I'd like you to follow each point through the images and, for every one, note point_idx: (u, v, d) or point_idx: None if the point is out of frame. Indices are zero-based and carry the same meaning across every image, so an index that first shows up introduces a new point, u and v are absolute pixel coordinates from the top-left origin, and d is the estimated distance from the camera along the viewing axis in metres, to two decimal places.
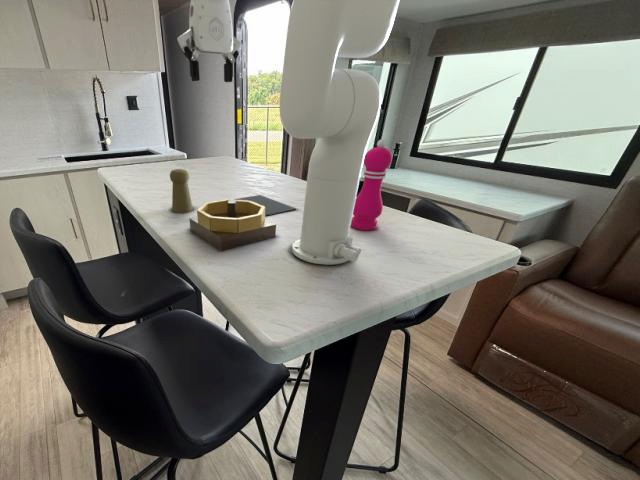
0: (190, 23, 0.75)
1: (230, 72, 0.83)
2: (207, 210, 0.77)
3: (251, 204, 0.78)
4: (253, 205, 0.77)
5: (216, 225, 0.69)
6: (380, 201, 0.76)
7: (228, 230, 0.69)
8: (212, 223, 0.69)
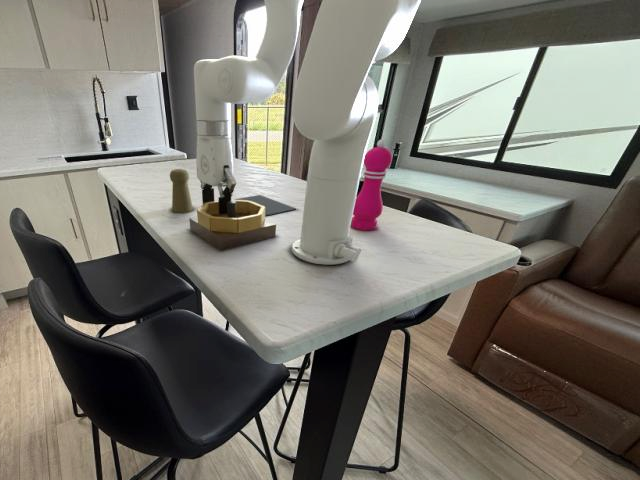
0: None
1: (219, 205, 0.75)
2: (207, 210, 0.77)
3: (251, 204, 0.78)
4: (253, 205, 0.77)
5: (216, 225, 0.69)
6: (380, 201, 0.76)
7: (228, 230, 0.69)
8: (212, 223, 0.69)
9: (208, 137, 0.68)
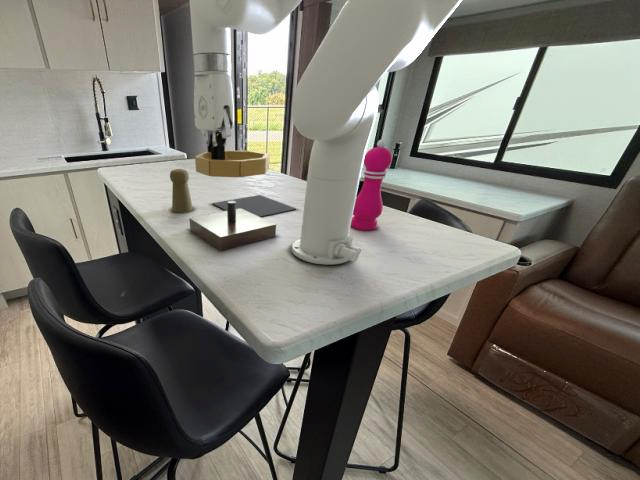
0: None
1: (212, 156, 0.72)
2: None
3: (254, 153, 0.72)
4: (256, 154, 0.71)
5: (216, 169, 0.63)
6: (380, 201, 0.76)
7: (229, 174, 0.63)
8: (212, 167, 0.63)
9: (206, 73, 0.62)
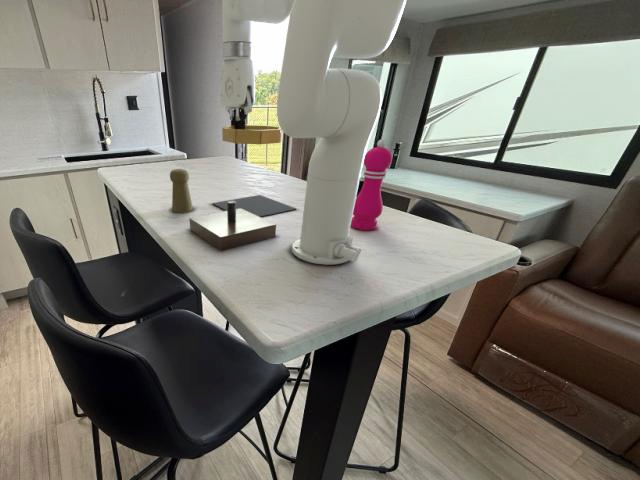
0: None
1: None
2: None
3: (270, 127, 0.86)
4: (272, 128, 0.86)
5: (241, 137, 0.77)
6: (380, 201, 0.76)
7: (251, 142, 0.77)
8: (237, 135, 0.77)
9: (234, 58, 0.76)
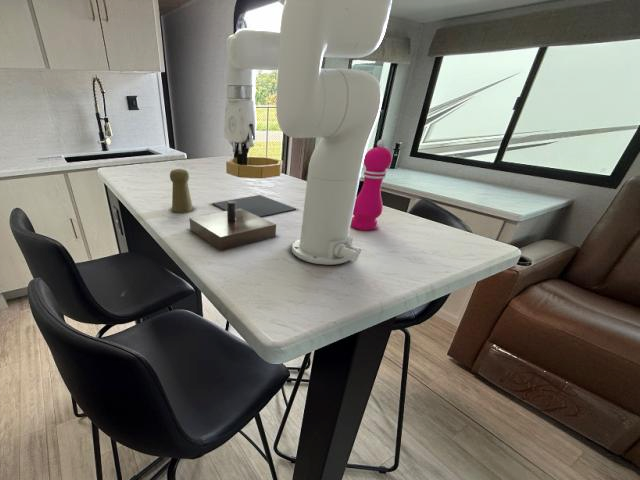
0: None
1: (237, 161, 0.93)
2: None
3: (270, 159, 0.93)
4: (272, 160, 0.92)
5: (243, 172, 0.84)
6: (380, 201, 0.76)
7: (253, 176, 0.84)
8: (240, 170, 0.84)
9: (237, 99, 0.83)
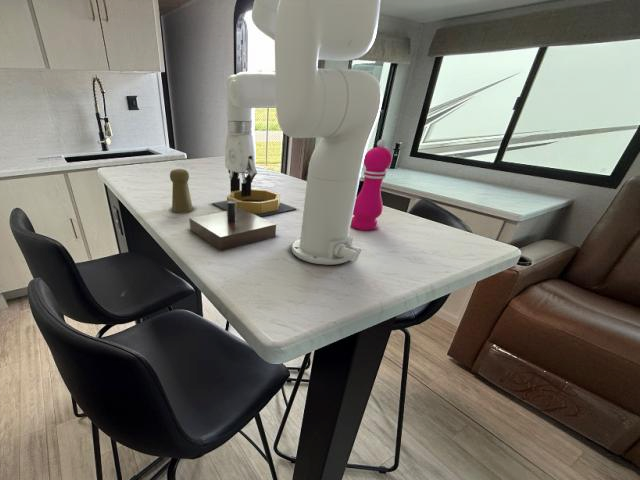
0: None
1: (241, 190, 0.96)
2: (233, 197, 0.98)
3: (268, 192, 0.98)
4: (270, 193, 0.98)
5: (243, 208, 0.89)
6: (380, 201, 0.76)
7: (252, 211, 0.89)
8: (240, 206, 0.89)
9: (237, 134, 0.87)
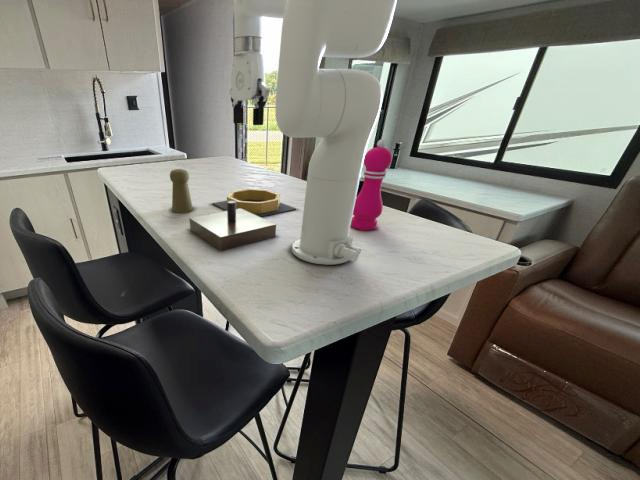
0: None
1: (253, 116, 0.86)
2: (233, 197, 0.98)
3: (268, 192, 0.98)
4: (270, 193, 0.98)
5: (243, 208, 0.89)
6: (380, 201, 0.76)
7: (252, 211, 0.89)
8: (240, 206, 0.89)
9: (245, 52, 0.80)
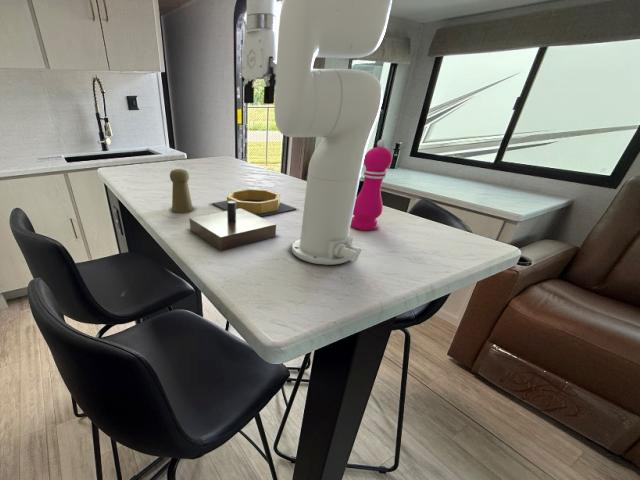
0: None
1: (264, 95, 0.87)
2: (233, 197, 0.98)
3: (268, 192, 0.98)
4: (270, 193, 0.98)
5: (243, 208, 0.89)
6: (380, 201, 0.76)
7: (252, 211, 0.89)
8: (240, 206, 0.89)
9: (257, 29, 0.81)
